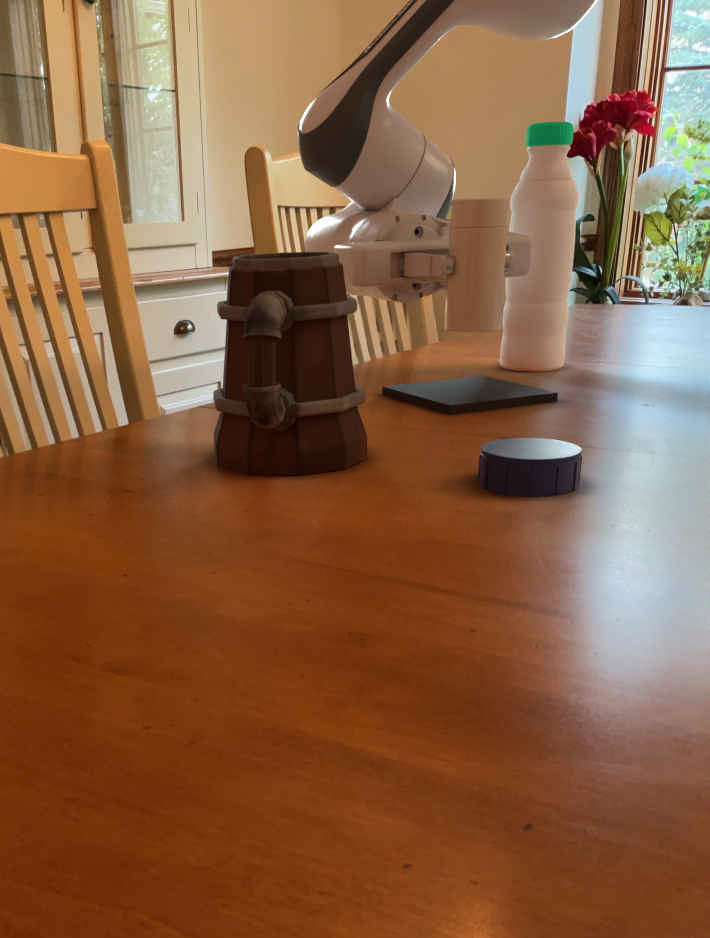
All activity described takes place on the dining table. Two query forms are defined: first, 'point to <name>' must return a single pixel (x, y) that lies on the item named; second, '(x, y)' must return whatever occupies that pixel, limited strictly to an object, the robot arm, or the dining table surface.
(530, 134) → the water bottle
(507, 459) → the jam lid
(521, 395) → the plate
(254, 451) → the mug
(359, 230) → the robot arm
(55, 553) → the dining table surface
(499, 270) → the jam jar
